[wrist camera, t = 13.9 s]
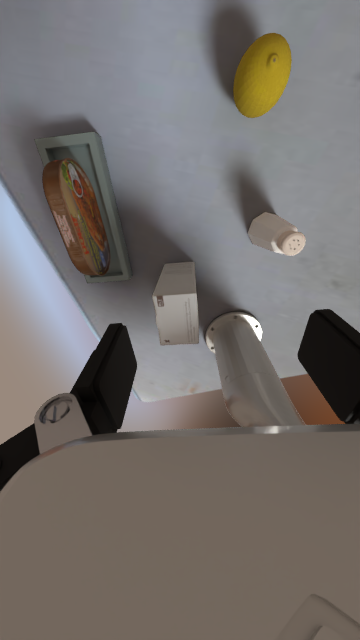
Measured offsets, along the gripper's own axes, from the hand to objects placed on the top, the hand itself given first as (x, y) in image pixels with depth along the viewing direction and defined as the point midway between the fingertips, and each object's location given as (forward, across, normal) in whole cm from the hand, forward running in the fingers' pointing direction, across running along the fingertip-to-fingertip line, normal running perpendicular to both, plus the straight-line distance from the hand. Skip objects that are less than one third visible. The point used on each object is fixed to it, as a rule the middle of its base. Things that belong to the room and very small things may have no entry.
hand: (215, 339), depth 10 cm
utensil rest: (+28, +16, -4) cm, 33 cm away
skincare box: (+28, +3, +8) cm, 30 cm away
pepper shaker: (+28, -12, 0) cm, 31 cm away
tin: (+28, +16, -4) cm, 32 cm away
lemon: (+28, -8, -16) cm, 34 cm away
